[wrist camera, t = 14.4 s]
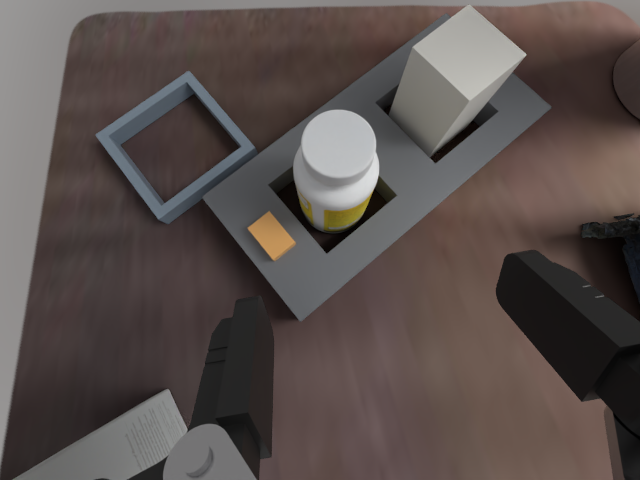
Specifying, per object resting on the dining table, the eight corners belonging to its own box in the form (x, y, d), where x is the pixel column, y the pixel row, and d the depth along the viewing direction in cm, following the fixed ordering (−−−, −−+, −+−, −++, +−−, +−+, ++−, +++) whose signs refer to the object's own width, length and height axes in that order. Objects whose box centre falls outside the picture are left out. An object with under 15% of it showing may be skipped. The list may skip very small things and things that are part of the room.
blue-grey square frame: (196, 82, 27) (188, 70, 26) (259, 156, 26) (255, 147, 24) (107, 144, 26) (95, 134, 25) (168, 224, 25) (158, 219, 23)
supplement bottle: (376, 191, 25) (408, 124, 16) (345, 246, 24) (360, 211, 15) (320, 162, 26) (318, 81, 16) (289, 215, 25) (267, 162, 15)
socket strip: (435, 37, 28) (478, -64, 20) (530, 125, 26) (618, 51, 18) (213, 206, 25) (163, 164, 17) (302, 319, 23) (292, 330, 15)
